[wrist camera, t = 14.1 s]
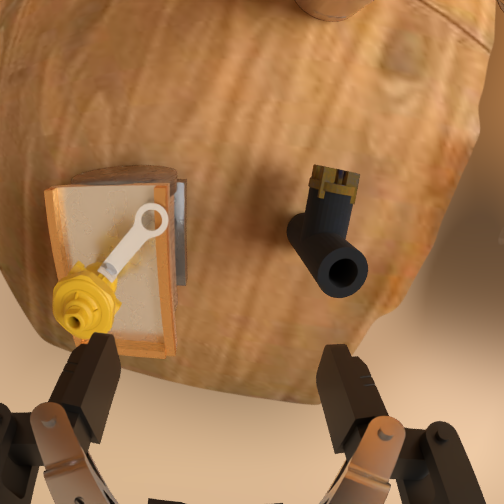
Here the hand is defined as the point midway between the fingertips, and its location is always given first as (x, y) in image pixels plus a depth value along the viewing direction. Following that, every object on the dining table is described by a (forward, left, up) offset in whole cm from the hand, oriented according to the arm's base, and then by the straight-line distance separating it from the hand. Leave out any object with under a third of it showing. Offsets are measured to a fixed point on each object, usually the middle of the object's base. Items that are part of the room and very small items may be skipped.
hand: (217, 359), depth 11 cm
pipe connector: (+3, +11, -31) cm, 33 cm away
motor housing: (+7, -11, -31) cm, 33 cm away
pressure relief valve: (+4, -9, -18) cm, 21 cm away
